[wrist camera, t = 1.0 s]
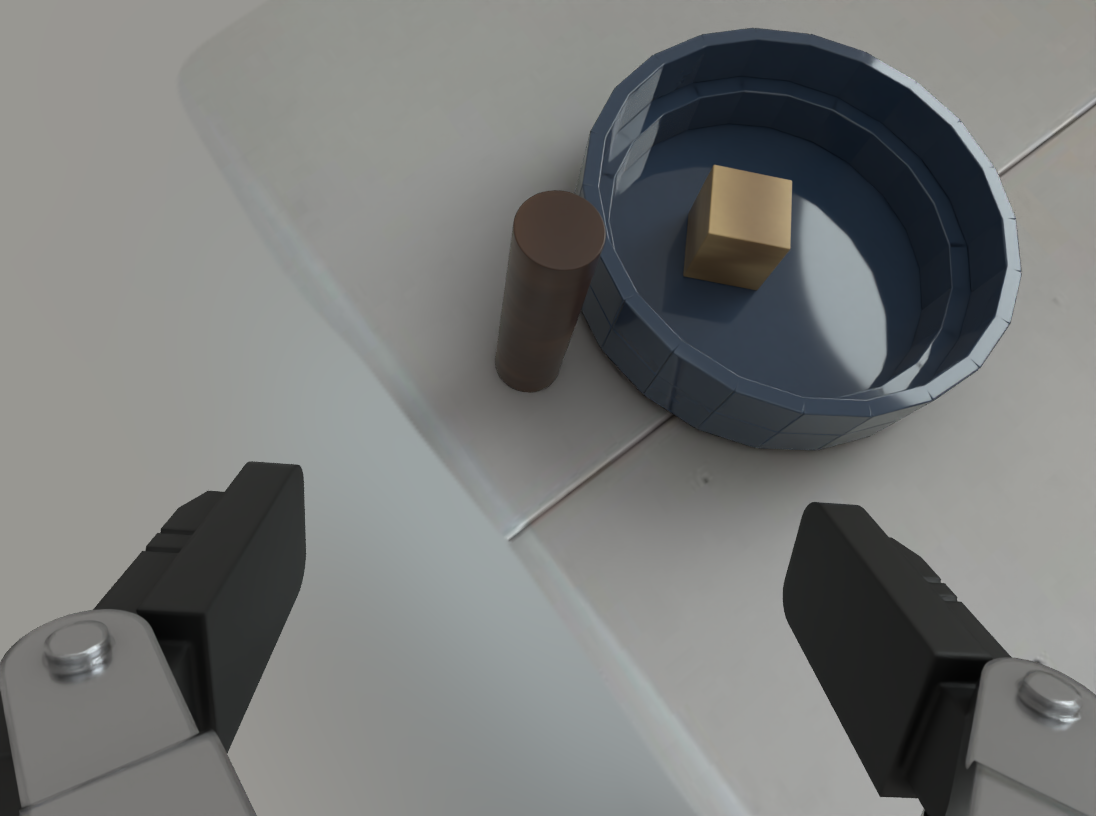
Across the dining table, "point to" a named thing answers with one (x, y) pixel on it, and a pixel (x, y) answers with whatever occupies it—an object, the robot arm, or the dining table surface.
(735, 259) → the block
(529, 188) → the dining table surface
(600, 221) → the brown cylinder
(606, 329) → the bowl
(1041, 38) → the dining table surface
